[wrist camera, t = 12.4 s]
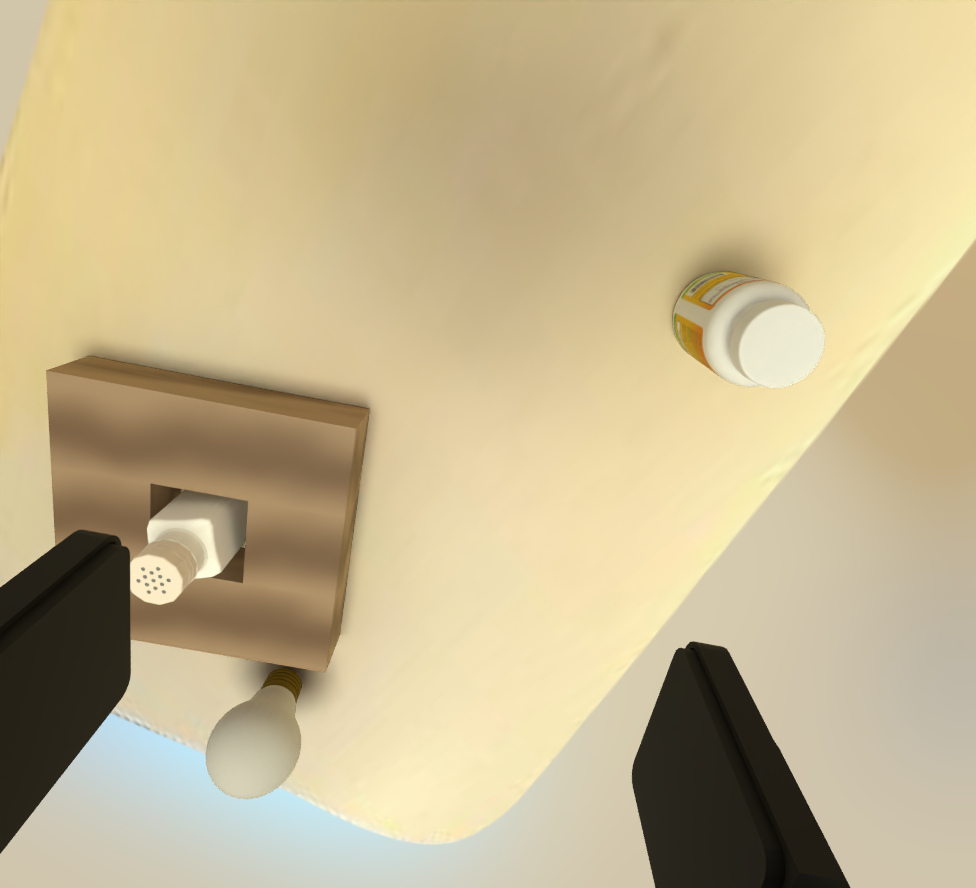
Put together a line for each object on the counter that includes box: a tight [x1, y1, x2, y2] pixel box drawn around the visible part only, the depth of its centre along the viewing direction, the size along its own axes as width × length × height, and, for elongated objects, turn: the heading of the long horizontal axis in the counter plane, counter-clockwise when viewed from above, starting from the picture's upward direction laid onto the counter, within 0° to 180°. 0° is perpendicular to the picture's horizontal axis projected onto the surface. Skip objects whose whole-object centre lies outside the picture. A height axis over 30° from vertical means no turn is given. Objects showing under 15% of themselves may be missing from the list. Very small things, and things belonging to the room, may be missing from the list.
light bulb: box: [206, 668, 302, 799], centre depth 43 cm, size 6×6×10 cm
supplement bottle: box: [673, 271, 825, 388], centre depth 34 cm, size 5×5×10 cm
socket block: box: [46, 356, 370, 672], centre depth 41 cm, size 18×18×4 cm
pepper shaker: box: [130, 490, 248, 605], centre depth 39 cm, size 4×4×10 cm
